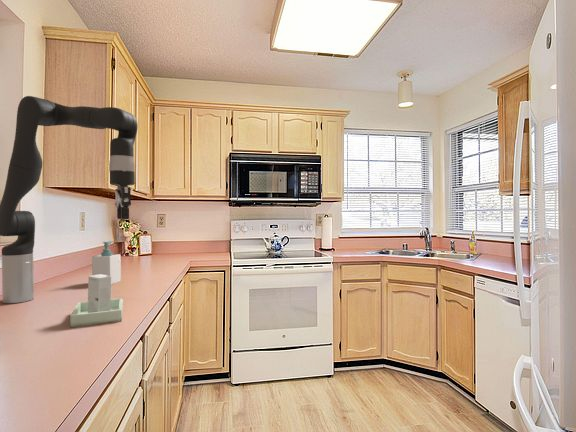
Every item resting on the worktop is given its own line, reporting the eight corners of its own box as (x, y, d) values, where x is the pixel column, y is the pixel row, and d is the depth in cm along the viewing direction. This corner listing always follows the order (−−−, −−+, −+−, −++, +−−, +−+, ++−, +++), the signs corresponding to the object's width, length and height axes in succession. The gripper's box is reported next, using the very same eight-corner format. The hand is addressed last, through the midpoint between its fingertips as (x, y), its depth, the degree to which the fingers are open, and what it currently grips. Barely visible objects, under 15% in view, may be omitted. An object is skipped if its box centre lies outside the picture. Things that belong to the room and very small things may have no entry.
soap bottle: (121, 281, 165) (120, 240, 165) (110, 285, 156) (109, 242, 156) (104, 281, 166) (103, 240, 166) (92, 284, 157) (91, 242, 157)
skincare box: (87, 314, 108) (86, 276, 108) (101, 311, 112) (100, 273, 112) (98, 318, 105) (97, 277, 105) (112, 314, 109) (111, 275, 109)
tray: (78, 312, 113) (78, 302, 113) (122, 307, 119) (122, 298, 119) (70, 327, 99) (70, 315, 99) (121, 321, 104) (121, 310, 104)
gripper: (106, 172, 120) (107, 219, 120) (113, 167, 108) (113, 219, 109) (130, 173, 124) (131, 218, 125) (138, 169, 113) (139, 219, 113)
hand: (123, 219), depth 117 cm, fingers open, 8 cm apart
